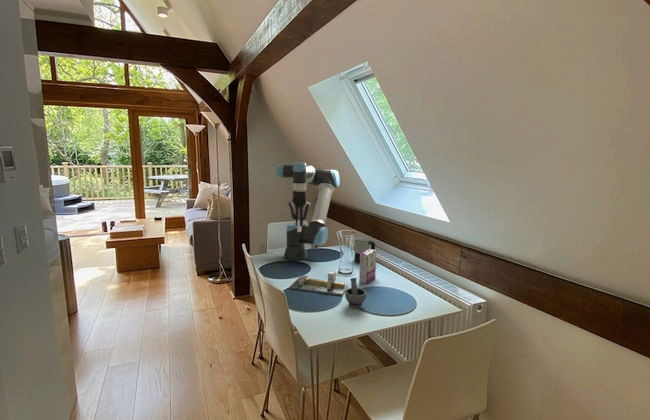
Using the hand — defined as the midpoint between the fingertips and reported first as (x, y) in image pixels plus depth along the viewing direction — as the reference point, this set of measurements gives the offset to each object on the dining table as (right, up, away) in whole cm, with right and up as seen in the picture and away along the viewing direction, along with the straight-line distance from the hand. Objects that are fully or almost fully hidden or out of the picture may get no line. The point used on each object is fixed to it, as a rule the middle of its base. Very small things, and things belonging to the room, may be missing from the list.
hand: (299, 231), depth 200 cm
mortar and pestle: (+29, -32, -37) cm, 57 cm away
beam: (+12, -27, -18) cm, 35 cm away
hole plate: (+12, -28, -18) cm, 35 cm away
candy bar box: (+38, -27, -6) cm, 47 cm away
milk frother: (+38, -20, +31) cm, 53 cm away
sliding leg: (+18, -27, -19) cm, 38 cm away
